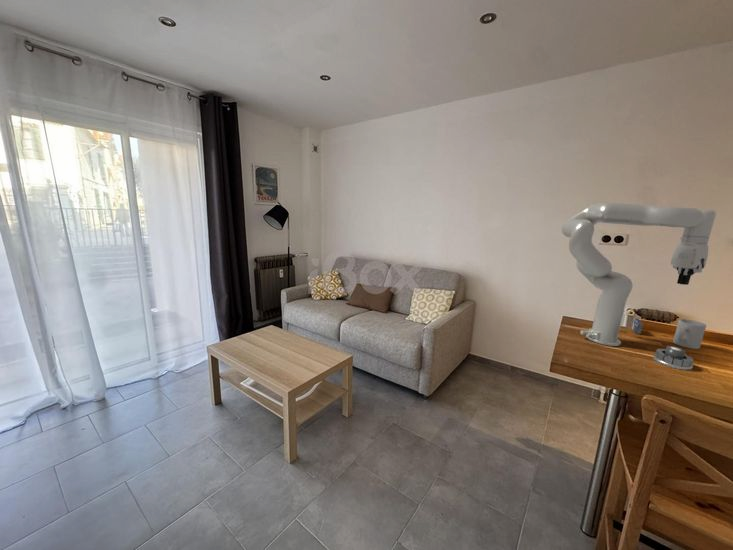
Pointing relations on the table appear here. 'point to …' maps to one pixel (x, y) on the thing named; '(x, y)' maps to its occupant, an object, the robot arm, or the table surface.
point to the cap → (675, 352)
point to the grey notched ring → (673, 360)
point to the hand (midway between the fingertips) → (682, 284)
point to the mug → (689, 333)
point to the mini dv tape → (636, 326)
